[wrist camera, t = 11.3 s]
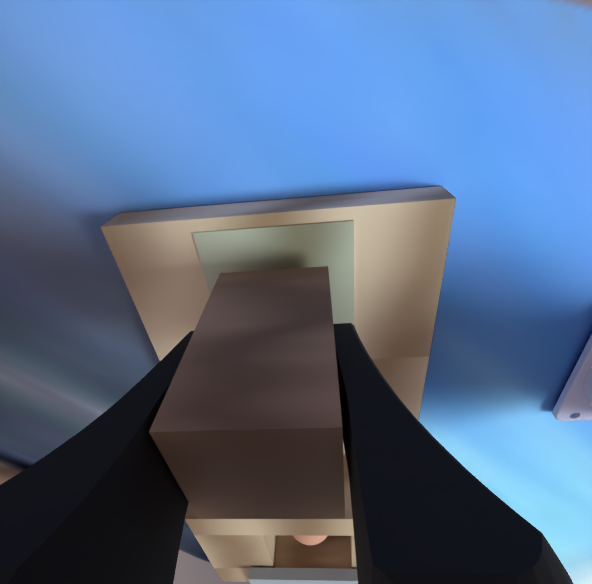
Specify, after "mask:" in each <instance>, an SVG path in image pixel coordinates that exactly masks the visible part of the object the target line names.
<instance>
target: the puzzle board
mask: <svg viewBox="0 0 592 584" xmlns="http://www.w3.org/2000/svg"><path fill="white" fill-rule="evenodd" d="M455 202H456V198H455V197H454V196H453V195H452V194H450V193H449V192H448V191H447V190H446V189H445V188H443V187H442V186H437V187H425V188H413V189H401V190H389V191H376V192H364V193H352V194H340V195H328V196H316V197H304V198H292V199H280V200H268V201H256V202H244V203H232V204H220V205H208V206H195V207H183V208H171V209H159V210H147V211H135V212H123V213H118V214H117V215H116V216H114V217H113V218H112V219H110V220H109V221H107V222H106V223H105V224H103V225H102V226H100V227H101V229H102V232H103V234H104V236H105V238H106V241H107V243H108V245H109V247H110V250H111V252H112V254H113V257H114V259H115V261H116V263H117V266H118V268H119V270H120V272H121V275H122V277H123V279H124V281H125V284H126V286H127V288H128V290H129V293H130V295H131V297H132V299H133V302H134V304H135V306H136V308H137V311H138V313H139V315H140V317H141V320H142V322H143V324H144V327H145V329H146V331H147V333H148V336H149V338H150V340H151V342H152V345H153V347H154V349H155V351H156V354H157V356H158V358H159V360H160V361H161V360H162V359H163V358H164V357H165V356H166V355H167V354H168V353H169V352H170V351H171V350H172V349H173V348H174V347H175V346H176V345H177V344H178V343H179V342H180V341H181V340H182V339H183V338H184V337H185V336H186V335H187V334H188V333H189V332H190V331H194V330H195V328H196V326H197V323H198V321H199V319H200V317H201V315H202V312H203V310H204V308H205V306H206V303H207V301H208V299H209V297H210V294H211V292H212V290H213V288H214V286H215V283H216V281H217V279H218V277H219V274H220V273H229V272H245V271H260V270H276V269H291V268H307V267H322V266H328V269H329V281H330V292H331V303H332V315H333V324H340V323H352V324H353V325H354V326H355V329H356V331H357V333H358V336H359V338H360V340H361V342H362V343H363V345H364V347H365V349H366V351H367V352H368V354H369V356H370V357H371V359H372V360H373V362H374V363H375V365H376V367H377V368H378V370H379V371H380V373H381V374H382V376H383V377H384V378H385V380H386V381H387V383H388V384H389V385H390V387H391V388H392V389H393V391H394V392H395V393H396V395H397V396H398V397H399V398H400V400H401V401H402V402H403V403H404V405H405V406H406V407H407V408H408V409H409V411H410V412H411V413H412V414H413V415H414V416H415V418H416V419H417V420H419V414H420V408H421V402H422V396H423V390H424V385H425V379H426V373H427V367H428V361H429V355H430V349H431V343H432V337H433V331H434V326H435V320H436V314H437V308H438V302H439V296H440V290H441V284H442V278H443V272H444V267H445V261H446V255H447V249H448V243H449V237H450V231H451V225H452V219H453V214H454V208H455ZM343 463H344V497H345V519H198V517H197V516H196V514H195V512H194V510H193V509H192V507H191V505H190V503H189V506H188V509H187V513H186V516H185V520H186V522H187V524H188V525H189V527H190V529H191V530H192V532H193V534H194V535H195V537H196V539H197V540H198V542H199V544H200V545H201V547H202V549H203V550H204V552H205V554H206V555H207V557H208V559H209V560H210V562H211V564H212V565H213V567H214V568H215V570H216V572H217V573H218V575H219V577H220V578H221V580H222V581H223V582H249V571H250V567H253V568H333V569H357V565H356V552H355V541H354V529H353V517H352V505H351V494H350V482H349V474H348V467H347V460H346V455H345V449H344V443H343ZM293 535H306V536H327V537H326V539H324V540H323V541H322V542H321V543H319V544H316V545H305V544H302V543H300V542H299V541H297V540H296V539H295V538H294V536H293Z"/></svg>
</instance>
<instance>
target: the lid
mask: <svg viewBox="0 0 592 584" xmlns="http://www.w3.org/2000/svg"><path fill="white" fill-rule="evenodd" d="M249 582H250V584H358V577H357V569H333V568H253V567H250V571H249Z"/></svg>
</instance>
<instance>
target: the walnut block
mask: <svg viewBox="0 0 592 584" xmlns="http://www.w3.org/2000/svg"><path fill="white" fill-rule="evenodd" d="M149 433H150V435H151V437H152V438H153V440H154V442H155V444H156V445H157V447H158V449H159V451H160V452H161V454H162V456H163V458H164V459H165V461H166V463H167V465H168V466H169V468H170V470H171V472H172V473H173V475H174V477H175V479H176V481H177V482H178V484H179V486H180V488H181V489H182V491H183V493H184V495H185V496H186V498H187V500H188V502H189V503H190V505H191V507H192V509H193V510H194V512H195V514H196V516H197V517H198V519H345V497H344V463H343V429H342V417H341V405H340V394H339V383H338V371H337V360H336V349H335V337H334V326H333V315H332V303H331V292H330V281H329V269H328V266H322V267H307V268H291V269H276V270H260V271H245V272H229V273H220V274H219V277H218V279H217V281H216V283H215V286H214V288H213V290H212V292H211V294H210V297H209V299H208V301H207V303H206V306H205V308H204V310H203V312H202V315H201V317H200V319H199V321H198V323H197V326H196V328H195V330H194V332H193V335H192V337H191V339H190V341H189V344H188V346H187V348H186V350H185V352H184V355H183V357H182V359H181V361H180V364H179V366H178V368H177V370H176V373H175V375H174V377H173V379H172V381H171V384H170V386H169V388H168V390H167V393H166V395H165V397H164V399H163V402H162V404H161V406H160V408H159V410H158V413H157V415H156V417H155V419H154V422H153V424H152V426H151V428H150V431H149Z"/></svg>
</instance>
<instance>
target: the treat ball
mask: <svg viewBox="0 0 592 584" xmlns="http://www.w3.org/2000/svg"><path fill="white" fill-rule="evenodd" d="M293 536H294V538H295V539H296V540H297V541H299V542H300V543H302V544H305V545H316V544H319V543H321V542H322V541H323V540H324V539H326V537H327V536H306V535H293Z"/></svg>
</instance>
